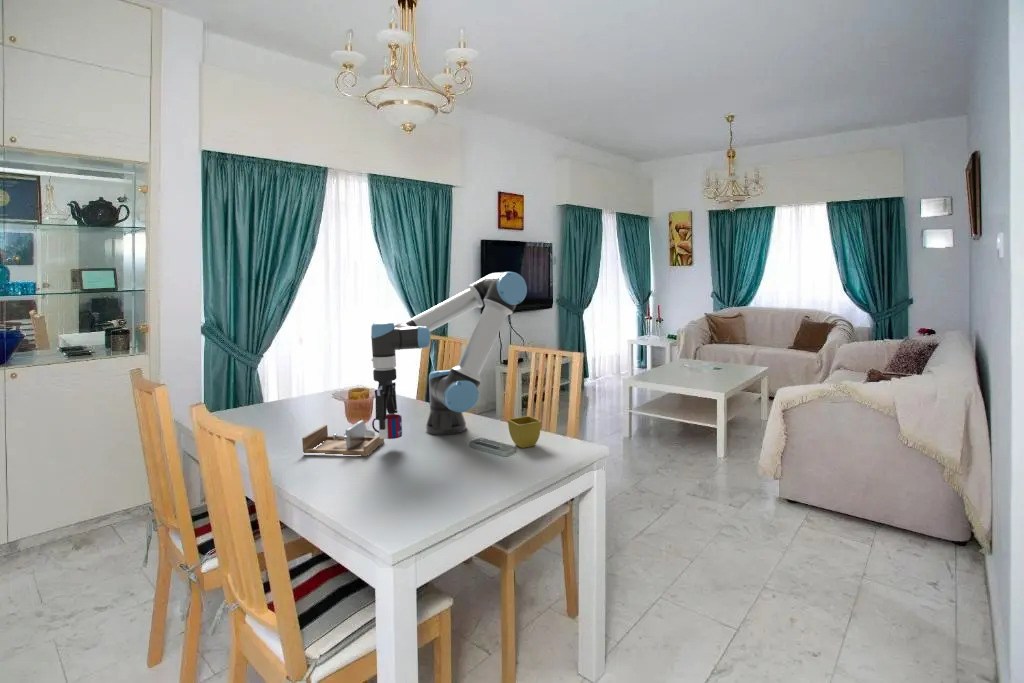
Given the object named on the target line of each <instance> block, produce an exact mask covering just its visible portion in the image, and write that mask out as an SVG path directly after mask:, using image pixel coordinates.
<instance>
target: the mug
mask: <svg viewBox="0 0 1024 683" xmlns="http://www.w3.org/2000/svg"><path fill="white" fill-rule="evenodd" d="M386 419H387V423H388V439H387V440H394V439H399V438H401V437H403V422H402V421H403V420H402V415H401V414H398V413H394V414H390V415H387V414H386ZM375 421H377V420H376V417H375V418H374V419H373V420H372V422H371V427H372V429H373V431H375V432H376V433H378V434H379V430H378V429H377V428H376V427H375Z"/></svg>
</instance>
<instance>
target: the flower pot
mask: <svg viewBox="0 0 1024 683" xmlns="http://www.w3.org/2000/svg"><path fill="white" fill-rule="evenodd" d="M507 426H508V430H509V435H510V438H511V441H513V444H514V445H515V446H518V447H519V448H520V449H526V448H529V447H534V446H536V444H537V443H538V440H539V439H540V436H541V435H540V434H541V426H542V420H540V419H537V418H534V417H532V416H530V415H526V416H520V417H514V418H510V419H507Z"/></svg>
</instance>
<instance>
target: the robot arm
mask: <svg viewBox="0 0 1024 683" xmlns="http://www.w3.org/2000/svg"><path fill="white" fill-rule="evenodd" d="M527 293H528V287H527V283H526V280H525V279H524V277H523V276H522V275H520V274H519V273H517V272H514V271H506V270H505V271H500V272H498V271H497V272H492V273H489V274H487V275H485V276H484V277H482V278H479V280H477V281H475V282H473V283H471V284H469V285H468V286H467V289H465V290H464V291H461V292H459V293H458V294H456V295H454V296H452V297H450V298H448V299H446V300H444V301H443V302H440V303H438V304H437V305H434V306H433V307H431V308H429V309H427V310H425V311H423V312H421V313H419V314H418V315H415V316H414V317H411V318H410V319H408V320H405V321H403V322H402V323H397V324H395V323H394V322H392V321H390V322H389V321H382V322H381V321H379V322H375V323H372V325H371V331H370V332H371V334H370V335H371V336H370V337H371V338H370V339H371V351H372V352H371V353H372V358H371V361H372V367H373V368H372V369H374V370H373V371H372V373H373V374H372V375H373V381H375V382H378V386H377V389H375V390H374V397H375V418H376V420H375V421H378V429H379V430H378V431H379V433H378V435H379V436H380V439H384V440H389V439H388V423H387V419H386V415H390V414H398V404H397V392H396V385H397V384H396V382H394V381H395V380H397V368H396V367H397V363H396V362H397V356H396V351H397V350H398V351H400V350H415V349H417V350H418V349H419V350H420V349H426V348H428V347H429V346H430V344H431V339H432V338H431V332H432V331H435V330H436V329H439V328H440V327H442V326H444V325H445V324H447V323H449V322H451V321H453V320H455V319H457V318H458V317H460V316H462V315H464V314H466V313H468V312H470V311H472V310H473V309H475V308H479V309H482V308H483V307H484V308H483V310H482V311H481V312H482V313H481V314H480V317H479V318H478V320H477V323H476V325H475V328H474V329H473V331H472V333H471V336H470V338H469V340H468V342H467V344H466V346H465V349H464V351H463V353H462V355H461V357H460V359H459V362H458V364H457V365H456V366H453V367H451V369H443V370H435V371H434V370H433V371H431V372H430V373H429V375H428V386H429V387H428V389H429V392H428V393H429V413H428V417H427V421H426V424H425V428H426V430H425V431H426V432H427V433H428V434H431V435H437V436H438V435H439V436H444V435H445V436H448V435H455V434H459V433H462V432H464V431H466V430H467V422H466V420H465V417H464V415H463V413H466V412H468V411H470V410H472V409H473V408H474V407H475V406H476V404H477V403H478V401H479V396H480V394H479V393H480V392H479V387H480V385H481V383H482V380H481V376H480V374H481V372H482V370H483V368H484V366H485V363H486V362H487V359H488V357H489V355H490V352H491V350H492V348H493V346H494V345H495V343H496V340H497V338H498V335H499V333H500V332H501V329H502V328H503V324H504V322H505V320H506V318H507V316H509V315H512V314H513V313H514V311H515V309H516V307H517V305H519V304H521V303H522V302H523V301H524V300H525V298H526V296H527Z"/></svg>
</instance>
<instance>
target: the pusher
mask: <svg viewBox="0 0 1024 683" xmlns="http://www.w3.org/2000/svg"><path fill="white" fill-rule="evenodd" d="M332 436H333V440H334V441H337V439H346V446H347V449H350V450H353V449H354V448H355V447H356V446H358V445H359V444H360V443H362V442H363V441H364V440H365V436H366V435H365V421H364V420H359V421H357V422H356V423H354V424H353V425H351V426H350V427H348V428H347V429H345V435H338V433H333V435H332Z"/></svg>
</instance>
